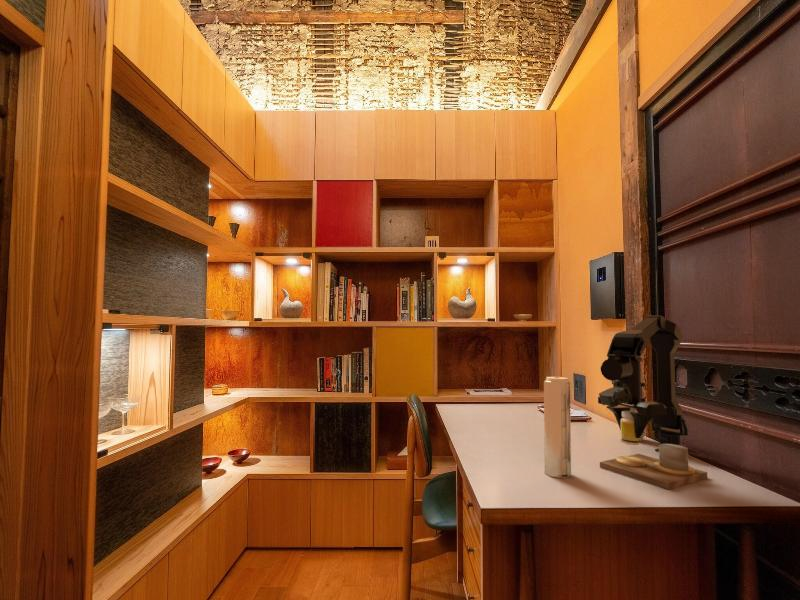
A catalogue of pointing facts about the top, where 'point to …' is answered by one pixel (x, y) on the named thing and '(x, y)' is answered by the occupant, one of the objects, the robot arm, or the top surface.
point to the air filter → (557, 427)
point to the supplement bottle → (628, 429)
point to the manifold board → (657, 467)
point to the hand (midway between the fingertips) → (630, 435)
